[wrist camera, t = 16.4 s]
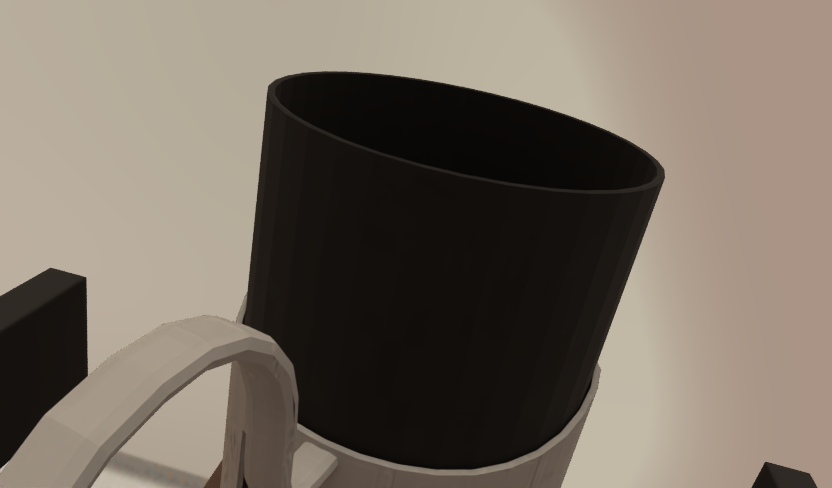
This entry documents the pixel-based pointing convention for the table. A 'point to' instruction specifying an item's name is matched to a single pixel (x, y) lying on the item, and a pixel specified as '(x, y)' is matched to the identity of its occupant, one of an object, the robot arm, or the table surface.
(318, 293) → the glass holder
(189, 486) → the table surface
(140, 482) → the table surface
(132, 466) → the table surface
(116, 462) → the table surface
